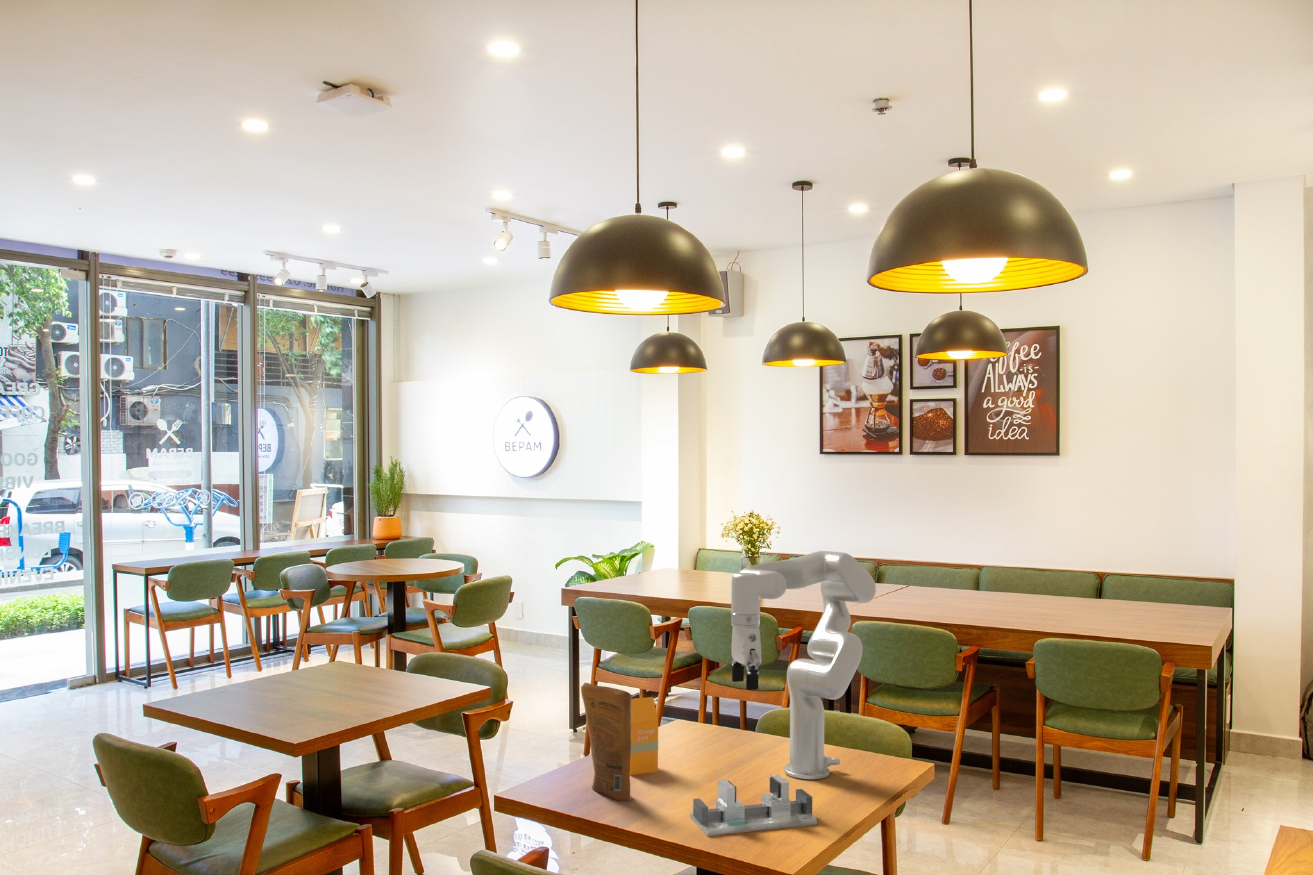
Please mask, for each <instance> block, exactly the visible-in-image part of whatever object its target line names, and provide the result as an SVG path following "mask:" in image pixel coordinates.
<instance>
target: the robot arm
mask: <svg viewBox="0 0 1313 875" xmlns="http://www.w3.org/2000/svg"><path fill="white" fill-rule="evenodd" d="M818 583H820V592H821V595H822V596H821V597H822V603H823V611H822V615H821V617H820V619H819V621H818V622H817V625H816V627H815V628H814V631H813V633H812V635H811V636H810V638H809V640H808V643H807V647H806V650H807V654H808V656H809V657H810V658H797V659H795V660H793V661H792V662H791V663H790V664H789V666H788V667H787V670H786V681H787V687H788V693H789V705H790V706H789V708H790V709H789V713H790V714H789V718H790V719H789V763H788V764H786V765H785V766H784V767H783V768H784V769H783V770H784V771H783V772H784V773H785V774H786V775H788V776H789V777H792V778H795V779H800V780H821V779H825V778H827V777H829V776H830V767H831V766H839V765H840V764H841V760H840V758H839V757H833V758H832V757H831V756H825V707H824V704H823V701H822V698H823V699H829V700H838V699H839V698H842V697H843V695H844V694H845V693H846V691H847V689H848V687H849V685H850V683H851V681H852V679H853V677H854V675H855V673H856V672H857V669H858V667H859V665H860V663H861V661H862V657H863V650H864V649H863V642H862V641H861V639H860V637H859V636H857V635H856V634H854V633H852V632H848V631H849V629H850V626H851V622H852V618H851V614H850V612H849V609H848V607H847V605H846V602H849V603H856V604H867V603H869V602H871V601H873V600H874V598H875V595H876V592H877V589H876V588H877V587H876V582H875V580H874V578H873V576H872V575H871V574H870V572H868V571H867V569H865V567H864V566H863V565H862V564H861V563H860V562H859V560H857V559H856V558H854V557H853V556H852V555H850V554H849V553H847V552H841V551H840V552H839V551H829V550H819V551H815V552H811V553H808V554H805V555H801V556H798V557H794V558H790V559H781V560H778V561H777V560H776V561H771V562H764V563H763V562H762V563H757V564H753V565H750V566H748V567H745V568H743V569H741V570H740V571H739V572H736V573H733V574H732V577H731V594H730V595H731V602H730V603H731V605H730V606H731V607H730V608H731V615H730V617H731V618H730V620H731V621H730V626H732V632H731V648H730V652H731V657H730V658H731V660H732V661H731V681H732V682H734V683H739V682H744V681H745V689H746V690H747V691H752V690H753V691H758V690H759V675H760V668H761V667H760V665H762V641H761V631H760V625H761V624H760V623H761V622H760V621H761V618H760V617H761V600H776V599H779V598H781V597H782V596H784V594H785V593H786V590H798V589H804V588H806V587H810V586H812V585H815V584H818ZM811 658H812V659H811ZM745 668H746V672H747V673H746V674H745ZM744 678H745V679H744Z"/></svg>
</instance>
